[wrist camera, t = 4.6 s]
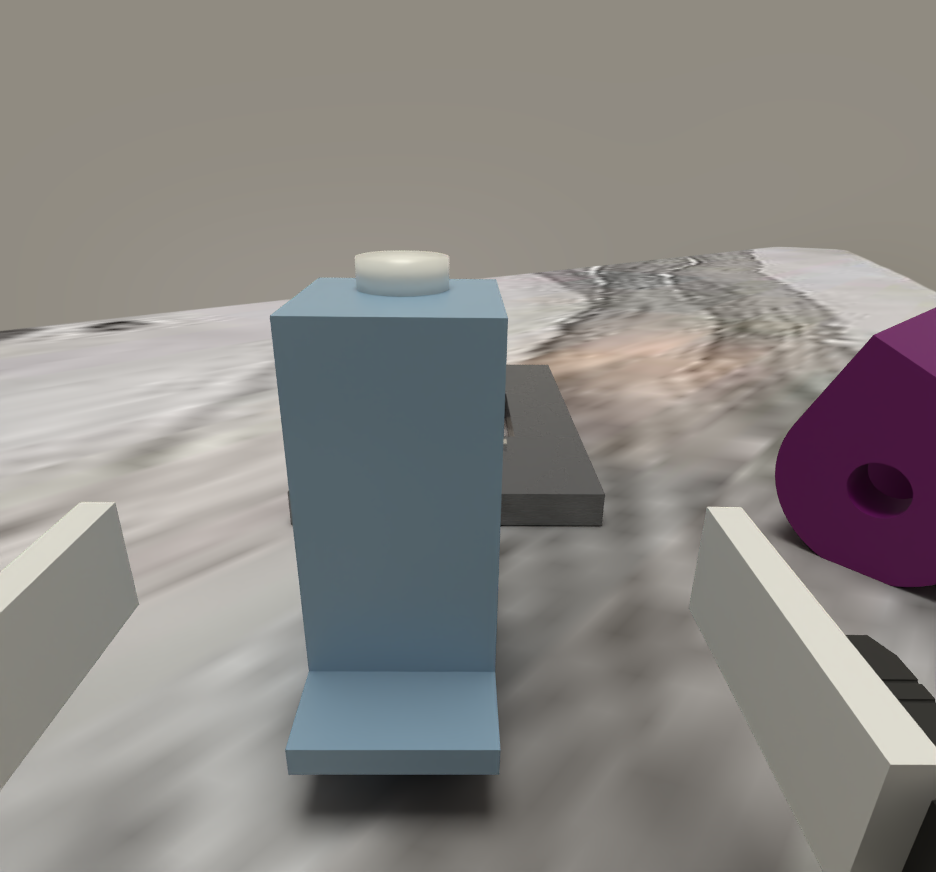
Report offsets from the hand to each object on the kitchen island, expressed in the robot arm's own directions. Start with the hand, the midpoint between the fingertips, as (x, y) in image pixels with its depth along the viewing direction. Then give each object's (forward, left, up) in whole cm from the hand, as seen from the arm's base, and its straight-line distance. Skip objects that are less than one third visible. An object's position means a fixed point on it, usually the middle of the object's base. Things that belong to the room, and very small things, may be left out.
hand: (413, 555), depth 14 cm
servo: (-3, +2, -7) cm, 8 cm away
